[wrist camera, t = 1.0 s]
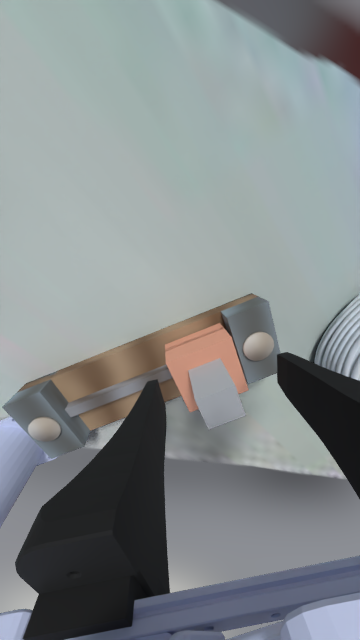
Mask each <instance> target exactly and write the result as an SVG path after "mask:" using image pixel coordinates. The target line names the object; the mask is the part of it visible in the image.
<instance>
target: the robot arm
mask: <svg viewBox="0 0 360 640" xmlns="http://www.w3.org/2000/svg"><path fill="white" fill-rule="evenodd" d="M277 380H278V384H279V385H280V387H281V389H282V390H283V392H284V393H285V395H286V397H287V398H288V399H289V401H290V402H291V403H292V404H293V406H294V407H295V408H296V409H297V411H298V412H299V413H300V414H301V415H302V417H303V418H304V419H305V420H306V422H307V423H308V424H309V425H310V426H311V428H312V429H313V430H314V431H315V433H316V434H317V435H318V437H319V438H320V439H321V440H322V442H323V443H324V445H325V446H326V448H327V449H328V451H329V452H330V454H331V455H332V457H333V458H334V459H335V461H336V462H337V464H338V466H339V467H340V469H341V470H342V472H343V473H344V475H345V476H346V478H347V479H348V481H349V482H350V484H351V486H352V487H353V489H354V491H355V492H356V494H357V495H358V497H359V499H360V381H359V380H356V379H353V378H350V377H347V376H345V375H342V374H339V373H337V372H334V371H332V370H329V369H327V368H324V367H322V366H319V365H317V364H315V363H312V362H310V361H308V360H305V359H303V358H301V357H298V356H296V355H293V354H291V353H288V352H285V353H281V354H277ZM165 439H166V408H165V403H164V399H163V396H162V393H161V389H160V386H159V382H158V379H156V380H152V381H147V383H146V385H145V386H144V388H143V390H142V392H141V394H140V396H139V398H138V399H137V401H136V403H135V404H134V406H133V408H132V409H131V411H130V413H129V414H128V416H127V417H126V419H125V420H124V422H123V423H122V425H121V426H120V427H119V429H118V430H117V431H116V433H115V434H114V435H113V437H112V438H111V439H110V440H109V442H108V443H107V444H106V445H105V446H104V447H103V449H102V450H101V451H100V452H99V453H98V454H97V455H96V457H95V458H94V459H93V460H92V461H91V462H90V463H89V464H88V465H87V466H86V467H85V468H84V469H83V470H82V471H81V472H80V473H79V474H78V475H77V476H76V477H75V478H74V479H73V480H72V481H71V482H69V484H67V485H66V486H65V487H64V488H63V489H62V490H60V491H59V492H58V493H57V494H56V495H55V496H54V497H53V498H51V499H50V500H49V501H48V502H47V503H46V504H44V506H42V508H41V510H40V511H39V513H38V515H37V517H36V519H35V521H34V523H33V525H32V527H31V530H30V532H29V534H28V536H27V538H26V540H25V542H24V544H23V546H22V549H21V551H20V553H19V555H18V557H17V559H16V562H15V565H16V571H17V573H18V574H19V576H20V577H21V578H22V579H23V580H24V581H25V582H26V583H27V584H29V585H30V586H31V587H32V588H33V589H34V590H35V591H36V592H37V593H39V596H38V598H37V601H36V604H35V606H34V609H33V611H32V610H28V609H19V610H14V611H9V612H4V613H0V640H225V637H224V635H223V634H222V633H221V632H222V631H226V630H231V629H237V628H242V627H247V626H252V625H257V624H262V623H268V622H273V621H278V620H283V619H284V620H283V621H281V622H278V623H275V624H272V625H269V626H266V627H263V628H259V629H257V630H254V631H251V632H247V633H244V634H241V635H238V636H235V637H232V638H229V639H227V640H360V556H355V557H350V558H345V559H340V560H335V561H330V562H325V563H320V564H315V565H310V566H305V567H300V568H295V569H289V570H284V571H280V572H274V573H269V574H264V575H259V576H254V577H249V578H244V579H239V580H234V581H230V582H224V583H219V584H214V585H209V586H204V587H199V588H194V589H189V590H184V591H179V592H174V593H170V589H169V575H168V574H169V573H168V560H167V559H168V558H167V540H166V520H165V495H164V456H165ZM56 458H57V457H55V458H53V459H56ZM53 459H51V458H50V457H49V456H48V455H47V454H46V453H45V452H44V451H43V450H42V449H41V448H40V447H39V446H38V445H37V443H36V442H35V441H34V440H33V439H32V438H31V437H30V436H29V435H28V434H27V433H26V432H25V431H24V430H23V429H22V428H21V427H20V426H19V424H18V423H17V422H16V421H15V420H14V419H13V418H12V417H11V416H10V417H8V418H5V419H3V420H0V527H1V526H2V524H3V522H4V520H5V519H6V517H7V515H8V513H9V512H10V510H11V508H12V507H13V505H14V503H15V501H16V500H17V498H18V496H19V495H20V493H21V491H22V489H23V488H24V486H25V484H26V483H27V481H28V479H29V477H30V476H31V474H32V472H33V470H34V469H35V467H36V466H38V465H40V464H43V463H45V462H48V461H51V460H53Z"/></svg>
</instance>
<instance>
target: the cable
mask: <svg viewBox="0 0 360 640" xmlns="http://www.w3.org/2000/svg"><path fill="white" fill-rule="evenodd" d="M314 363H315V364H317V365H319V366H322V367H324V368H327V369H329V370H332V371H334V372H337V373H339V374H342V375H345V376H347V377H350V378H353V379H356V380H359V381H360V293H359V294H358V295H357V297H356V298H355V299H354V300H353V301H352V302H351V303H350V304H349V305H348V306H347V307H346V308H345V309H344V310H343V311H342V312H341V313H340V314H339V315H338V316H337V317H336V318H335V319H334V321H333V322H332V323H331V324H330V326H329V327H328V329H327V330H326V332H325V333H324V335H323V337H322V339H321V341H320V343H319V345H318V348H317V351H316V355H315V361H314Z"/></svg>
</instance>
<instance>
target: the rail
mask: <svg viewBox="0 0 360 640" xmlns="http://www.w3.org/2000/svg"><path fill="white" fill-rule="evenodd" d="M218 323H220V324H221V325H222V326H223V327H224V329H225V330H226V331H227V332H228V334H229V335H230V336H231V337H232V340H233V343H234V346H235V349H236V353H237V356H238V359H239V362H240V365H241V368H242V371H243V374H244V377H245V380H246V381H247V383H248V384H250V383H252V382H255V381H257V380H260V379H263V378H265V377H268V376H271V375H273V374H276V373H277V354H280V350H279V345H278V341H277V336H276V332H275V328H274V323H273V319H272V315H271V310H270V306H269V301H267V300H264V299H262V298H260V297H258V296H256V295H254V294H252V293H251V294H249V295H246V296H244V297H241V298H239V299H236V300H234V301H231V302H229V303H226V304H224V305H221V306H219V307H216V308H214V309H211V310H209V311H206V312H204V313H201V314H199V315H196V316H194V317H191V318H189V319H186V320H184V321H181V322H179V323H176V324H174V325H171V326H169V327H166V328H164V329H161V330H159V331H156V332H154V333H151V334H149V335H146V336H144V337H141V338H139V339H136V340H134V341H131V342H129V343H126V344H124V345H121V346H119V347H116V348H114V349H111V350H109V351H106V352H104V353H101V354H99V355H96V356H94V357H91V358H89V359H86V360H84V361H81V362H79V363H76V364H74V365H71V366H69V367H66V368H64V369H61V370H59V371H56V372H54V373H51V374H49V375H46V376H44V377H41V378H39V379H36V380H34V381H31V382H29V383H26V384H25V385H24V386H23V387H22V388H21V389H20V390H19V391H18V392H17V393H16V394H15V395H14V396H13V397H12V398H11V399H10V400H9V401H8V402H7V403H6V404H5V405H4V406H3V407H2V408H3V409H4V410H5V411H6V412H7V413H8V414H9V415H10V416H11V417H12V418H13V419H14V420H15V421H16V422H17V423H18V424H19V426H20V427H21V428H22V429H23V430H24V431H25V432H26V433H27V434H28V435H29V436H30V437H31V438H32V439H33V440H34V441H35V442H36V443H37V445H38V446H39V447H40V448H41V449H42V450H43V451H44V452H45V453H46V454H47V455H48V456H49V457H50V458H51V459H53V458H55V457H58V456H60V455H63V454H66V453H68V452H71V451H73V450H76V449H79V448H81V447H84V446H85V443H86V441H87V438H88V436H89V433H90V431H91V430H93V429H96V428H98V427H101V426H104V425H106V424H109V423H111V422H114V421H117V420H119V419H122V418H124V417H127V416H128V414H129V413H130V411H131V409H132V408H133V406H134V404H135V403H136V401H137V399H138V398H139V396H140V394H141V392H142V390H143V388H144V386H145V385H146V383H147V381H152V380H156V379H158V382H159V386H160V389H161V393H162V396H163V399H164V402H166V401H169V400H171V399H174V398H177V397H179V396H182V395H181V393H180V391H179V389H178V387H177V385H176V383H175V381H174V379H173V377H172V375H171V373H170V371H169V369H168V367H167V365H166V357H165V344H168V343H170V342H173V341H175V340H178V339H180V338H183V337H185V336H188V335H190V334H193V333H195V332H198V331H201V330H203V329H206V328H208V327H211V326H213V325H216V324H218Z"/></svg>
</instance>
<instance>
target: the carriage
mask: <svg viewBox="0 0 360 640" xmlns="http://www.w3.org/2000/svg"><path fill="white" fill-rule="evenodd" d="M165 357H166V365H167V367H168V369H169V371H170V373H171V375H172V377H173V379H174V381H175V383H176V385H177V387H178V389H179V391H180V393H181V395H182V397H183V399H184V401H185V403H186V405H187V408H188V410H189V412H192V411H195V410H198V409H199V410H200V412H201V415H202V417H203V419H204V421H205V423H206V425H207V428H208V430H209V429H212V428H214V427H217V426H220V425H222V424H225V423H228V422H230V421H233V420H236V419H238V418H241V417H244V416H246V414H245V411H244V409H243V406H242V403H241V400H240V397H239V394H240V393H242V392H245V391H248V386H247V383H246V380H245V377H244V374H243V371H242V368H241V365H240V362H239V359H238V356H237V353H236V349H235V346H234V343H233V340H232V337H231V336H230V335H229V334H228V332H227V331H226V330H225V329H224V327H223V326H222V325H221V324H220V323H218V324H216V325H213V326H211V327H208V328H206V329H203V330H201V331H198V332H195V333H193V334H190V335H188V336H185V337H183V338H180V339H178V340H175V341H173V342H170V343H168V344H165Z"/></svg>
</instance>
